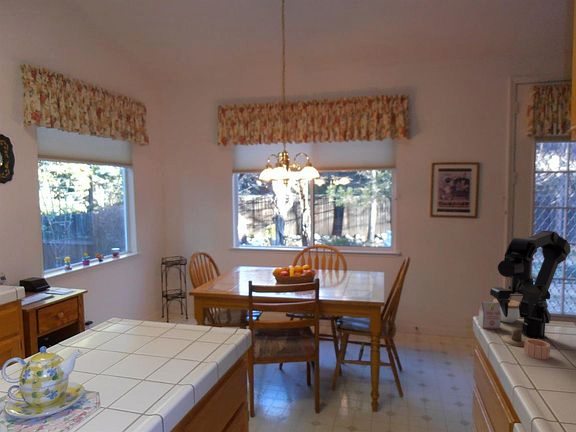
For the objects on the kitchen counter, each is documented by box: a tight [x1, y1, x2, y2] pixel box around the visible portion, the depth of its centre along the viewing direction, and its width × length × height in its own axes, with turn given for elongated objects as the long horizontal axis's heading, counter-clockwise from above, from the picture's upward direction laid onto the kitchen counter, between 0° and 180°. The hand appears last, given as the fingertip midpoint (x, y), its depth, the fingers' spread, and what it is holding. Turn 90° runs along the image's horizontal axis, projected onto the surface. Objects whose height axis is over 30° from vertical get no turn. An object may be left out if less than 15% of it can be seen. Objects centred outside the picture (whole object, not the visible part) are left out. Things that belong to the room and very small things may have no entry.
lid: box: [501, 327, 526, 348], centre depth 138 cm, size 9×9×5 cm
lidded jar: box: [492, 298, 521, 323], centre depth 162 cm, size 11×11×9 cm
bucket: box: [523, 338, 551, 360], centre depth 128 cm, size 7×7×4 cm
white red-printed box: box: [477, 301, 501, 330], centre depth 153 cm, size 4×7×10 cm, turn 88°
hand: (518, 316), depth 138 cm, fingers open, 9 cm apart
